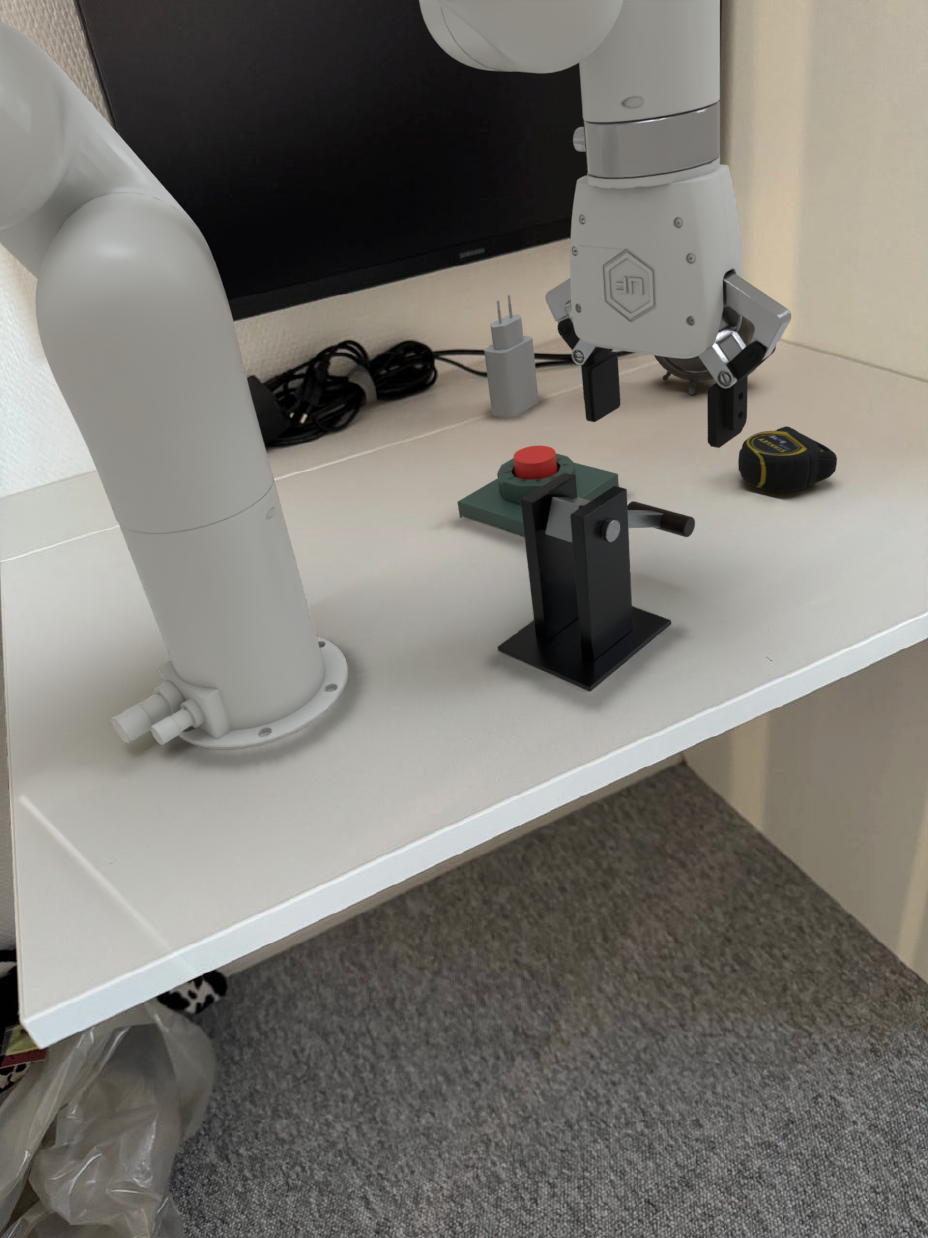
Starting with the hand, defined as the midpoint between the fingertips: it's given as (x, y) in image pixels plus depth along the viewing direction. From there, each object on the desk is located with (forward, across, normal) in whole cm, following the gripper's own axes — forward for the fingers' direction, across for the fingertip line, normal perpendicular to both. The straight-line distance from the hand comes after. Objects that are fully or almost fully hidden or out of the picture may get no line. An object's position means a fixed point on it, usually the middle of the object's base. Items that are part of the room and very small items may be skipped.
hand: (661, 426), depth 63 cm
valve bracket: (+12, 0, -10) cm, 16 cm away
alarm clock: (+13, -19, +34) cm, 41 cm away
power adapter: (+13, -34, +22) cm, 42 cm away
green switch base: (+13, -16, +4) cm, 21 cm away
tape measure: (+13, -1, +19) cm, 23 cm away
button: (+9, -16, +4) cm, 19 cm away
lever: (+6, 0, -6) cm, 8 cm away
